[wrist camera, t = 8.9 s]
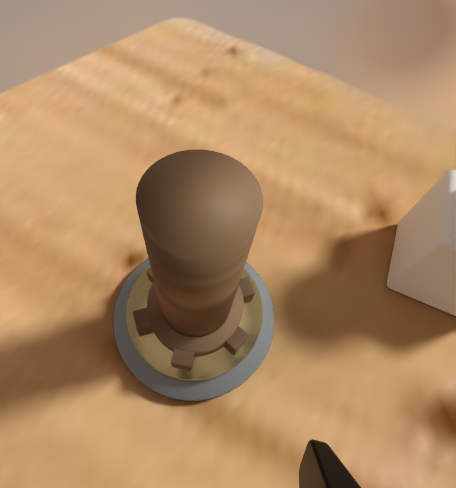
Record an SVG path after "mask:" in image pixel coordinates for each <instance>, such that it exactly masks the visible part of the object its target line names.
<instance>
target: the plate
mask: <svg viewBox="0 0 456 488" xmlns="http://www.w3.org/2000/svg"><path fill="white" fill-rule="evenodd" d="M148 266H150V262H149V258H148V259H147V260H145V261H144V262H143V263H141V264H140V265H139V266H138V267H137V268H136V269H135V270H134V271H133V272H132V274H131V275H130V276H129V277H128V279H127V280H126V282H125V283H124V285H123V287H122V289H121V291H120V293H119V295H118V298H117V302H116V305H115V310H114V317H113V329H114V337H115V341H116V345H117V348H118V351H119V353H120V355H121V357H122V359H123V361H124V363H125V364H126V366H127V367H128V369H129V370H130V371H131V372H132V373H133V374H134V376H135V377H136V378H137V379H138V380H139V381H140V382H142V383H143V384H144V385H145V386H147V387H148V388H150V389H151V390H153V391H154V392H156V393H159V394H161V395H163V396H165V397H169V398H173V399H176V400H184V401H201V400H207V399H212V398H215V397H219V396H222V395H224V394H226V393H228V392H230V391H232V390H234V389H235V388H237V387H238V386H240V385H241V384H242V383H243V382H245V381H246V380H247V379H248V378H249V377H250V376H251V375H252V374H253V373H254V372H255V370H256V369H257V368H258V367H259V365H260V364H261V362H262V361H263V359H264V358H265V356H266V354H267V351H268V349H269V347H270V344H271V340H272V336H273V330H274V310H273V304H272V300H271V297H270V294H269V292H268V289H267V287H266V285H265V283H264V281H263V280H262V278H261V277H260V276H259V274H258V273H257V272H256V271H255V270H254V268H253V267H252V266H251V265H249V264H248V263H247V262H246V263H245V266H244V268H245V270H246V271H247V272H248V273H249V274H250V276H251V277H252V279H253V280H254V282H255V284H256V286H257V288H258V290H259V293H260V296H261V300H262V307H263V320H262V326H261V330H260V333H259V336H258V338H257V341H256V343H255V345H254V346H253V348H252V349H251V351H250V352H249V354H248V355H247V356H246V358H245V359H244V360H243V361H242V362H241V363H240V364H239V365H238V366H236V367H235V368H234V369H233V370H231V371H230V372H228V373H226V374H224V375H222V376H220V377H218V378H215V379H211V380H208V381H201V382H186V381H179V380H175V379H172V378H169V377H167V376H165V375H162V374H161V373H159V372H157V371H156V370H154V369H153V368H152V367H151V366H150V365H148V364H147V363H146V362H145V360H144V359H143V358H142V357H141V356H140V354H139V353H138V351H137V349H136V348H135V346H134V344H133V342H132V340H131V338H130V335H129V331H128V327H127V320H126V310H127V303H128V299H129V295H130V293H131V290H132V288H133V286H134V284H135V282H136V281H137V279H138V278H139V276H140V275H141V274H142V272H143V271H144V270H145V269H146V268H147V267H148Z"/></svg>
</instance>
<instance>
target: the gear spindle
mask: <svg viewBox="0 0 456 488" xmlns="http://www.w3.org/2000/svg"><path fill="white" fill-rule="evenodd" d="M136 205H137V210H138V214H139V219H140V223H141V227H142V231H143V236H144V240H145V244H146V249H147V253H148V257H149V262H150V266H151V267H150V268H149V269H148V270H147V271H146V272H147V276H148V279H149V281H150V282H151V283H153V284H152V286H151V288H150V291H149V294H148V298H147V307H146V308H143V309H139V310H136V311H133V316H134V320H135V324H136V329H137V332H138V334H139V336H143V335H147V334H150V333H153V332H154V334H155V335H156V337H157V338H158V340H159V341H160V342H161V343H162V344H163V345H164V346H165V347H167V348H168V349H170V350H171V351H173V355H172V359H171V366H172V367H174V368H179V369H184V370H188V371H192V366H193V362H194V357H198V356H205V355H208V354H211V353H213V352H216V351H217V350H219V349H221V348H222V347H223V346H224V347H225V348H226V349H227V350H228V351H229V352H231V353H232V354H233V355H235V354H236V353H237V351H238V350H239V349H240V348H241V347H242V345H243V344H244V343H245V342H246V340H247V338H248V337H249V334H247V333H246V332H245V331H244V330H243V329H241V328H240V327H239V323H240V321H241V318H242V314H243V308H244V303H247V302H250V301H252V299H253V297H254V295H255V291H254V289H253V287H252V284H251V282H250V280H249V277H246V278H243V279H241V276H242V273H243V269H244V266H245V263H246V260H247V257H248V254H249V251H250V248H251V244H252V241H253V238H254V235H255V232H256V229H257V226H258V223H259V219H260V216H261V213H262V209H263V195H262V191H261V187H260V185H259V183H258V181H257V179H256V178H255V176H254V175H253V174H252V173H251V171H250V170H249V169H248V168H247V167H245V166H244V165H243V164H242V163H240V162H239V161H237V160H235V159H234V158H232V157H229V156H227V155H224V154H222V153H218V152H214V151H208V150H186V151H180V152H176V153H173V154H170V155H168V156H166V157H163V158H162V159H160V160H158V161H157V162H155V163H154V164H153V165H152V166H150V167H149V169H148V170H147V171H146V172H145V173H144V175H143V176H142V178H141V180H140V182H139V184H138V187H137V191H136Z"/></svg>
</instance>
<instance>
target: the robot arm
mask: <svg viewBox="0 0 456 488" xmlns="http://www.w3.org/2000/svg"><path fill="white" fill-rule="evenodd" d="M299 488H361V487H360V486H359V484H358V483H357V482H356V481H355V479H354V478H353V477H352V475H351V474H350V473H349V471H348V470H347V469H346V467H345V466H344V465H343V464H342V462H341V461H340V460H339V458H338V457H337V456H336V454H335V453H334V452H333V451H332V449H331V448H330V447H329V445H328V444H326V443H325V442H321V441H317V440H310V441H309V442H308V444H307V447H306V450H305V453H304V456H303V459H302V462H301V465H300V470H299Z"/></svg>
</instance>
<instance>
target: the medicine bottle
mask: <svg viewBox="0 0 456 488" xmlns="http://www.w3.org/2000/svg"><path fill="white" fill-rule="evenodd" d="M386 284H387V287H388V288H390V289H392V290H394V291H397V292H399V293H401V294H404V295H406V296H408V297H411V298H413V299H416V300H418V301H420V302H423V303H425V304H428V305H430V306H432V307H435V308H437V309H439V310H442V311H444V312H447V313H449V314H451V315H454V316H456V170H449V171H448V172H447V173H446V174H445V175H444V176H443V177H442V178H441V179H440V180H439V181H438V182H437V183H436V184H435V185H434V186H433V187H432V188H431V189H430V190H429V191H428V192H427V193H426V194H425V195H424V196H423V197H422V198H421V200H420V201H419V202H418V203H417V204H416V205H415V206H414V207H413V208H412V209H411V210H410V211H409V212H408V213H407V214H406V215H405V216H404V217H403V218H402V219H401V220H400V221H399V223H398V226H397V231H396V236H395V241H394V247H393V252H392V257H391V262H390V268H389V273H388V278H387V283H386Z"/></svg>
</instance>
